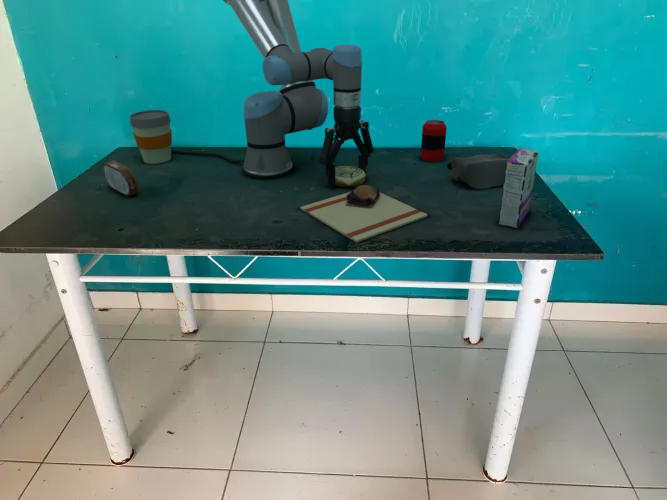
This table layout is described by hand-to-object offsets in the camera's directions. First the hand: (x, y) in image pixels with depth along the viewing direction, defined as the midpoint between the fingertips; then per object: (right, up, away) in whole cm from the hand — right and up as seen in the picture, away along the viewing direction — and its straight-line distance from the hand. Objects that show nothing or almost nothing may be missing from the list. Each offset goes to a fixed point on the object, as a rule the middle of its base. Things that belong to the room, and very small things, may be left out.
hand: (347, 181), depth 154 cm
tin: (-65, -3, -3) cm, 65 cm away
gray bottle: (+39, 0, 0) cm, 39 cm away
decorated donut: (0, 0, 0) cm, 0 cm away
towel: (+4, -10, -18) cm, 21 cm away
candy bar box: (+41, -12, -23) cm, 49 cm away
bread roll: (+4, -7, -12) cm, 14 cm away
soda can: (+28, +10, +18) cm, 35 cm away
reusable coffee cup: (-63, +10, +22) cm, 68 cm away
